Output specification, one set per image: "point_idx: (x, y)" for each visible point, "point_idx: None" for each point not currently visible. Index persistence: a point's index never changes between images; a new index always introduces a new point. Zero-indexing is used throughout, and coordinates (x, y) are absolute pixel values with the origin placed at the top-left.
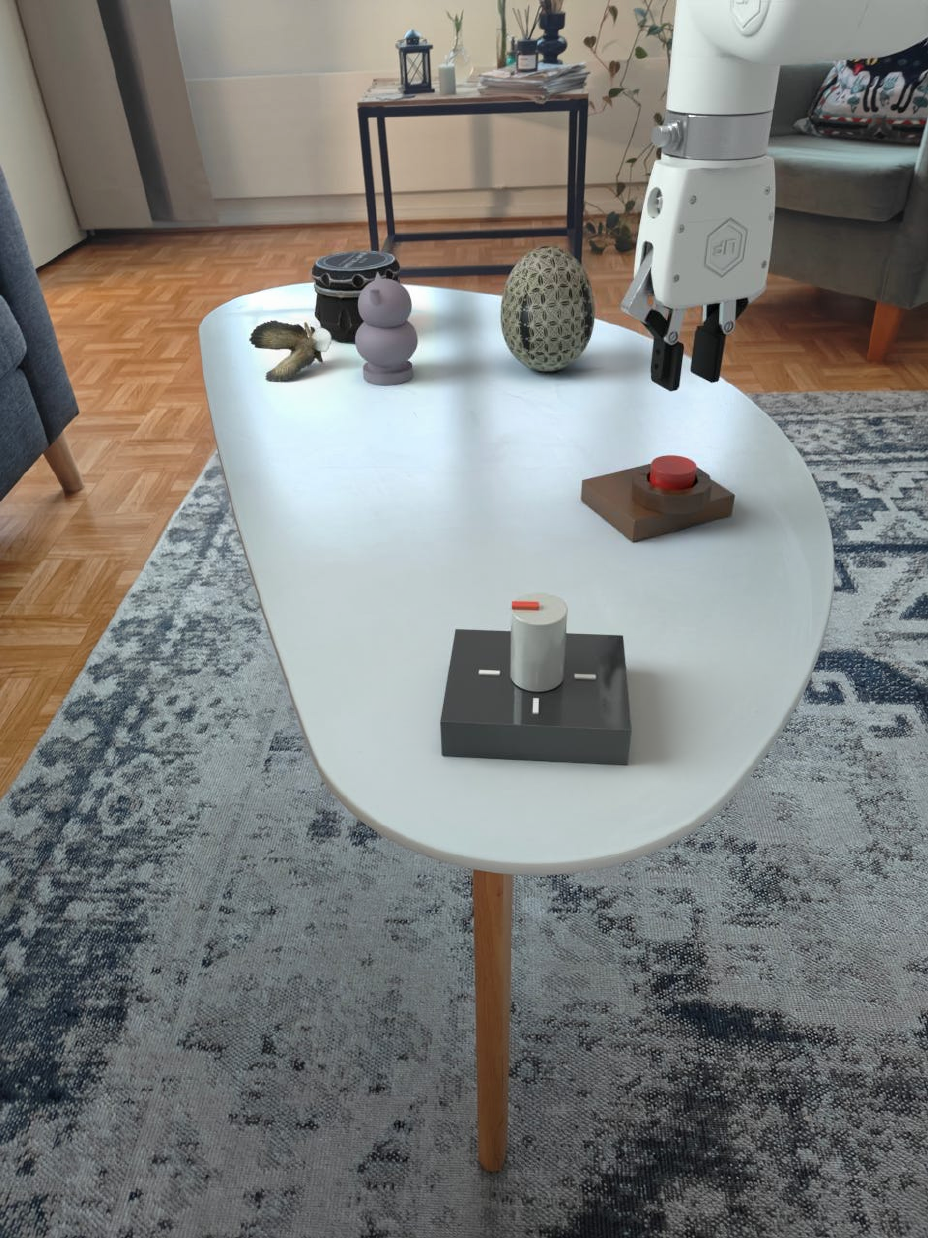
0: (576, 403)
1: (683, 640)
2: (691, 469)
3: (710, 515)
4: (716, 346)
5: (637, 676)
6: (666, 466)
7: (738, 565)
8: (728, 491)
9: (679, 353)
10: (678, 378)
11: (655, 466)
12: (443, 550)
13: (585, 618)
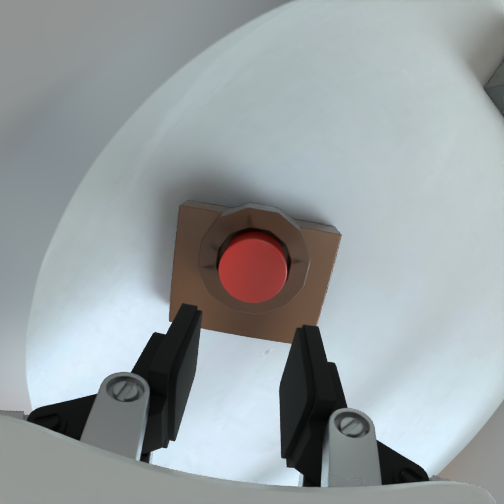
0: (160, 452)
1: (422, 68)
2: (243, 245)
3: (220, 207)
4: (182, 361)
5: (478, 72)
6: (266, 274)
7: (273, 112)
8: (180, 217)
9: (325, 381)
10: (309, 338)
11: (279, 283)
12: (464, 324)
13: (465, 156)
